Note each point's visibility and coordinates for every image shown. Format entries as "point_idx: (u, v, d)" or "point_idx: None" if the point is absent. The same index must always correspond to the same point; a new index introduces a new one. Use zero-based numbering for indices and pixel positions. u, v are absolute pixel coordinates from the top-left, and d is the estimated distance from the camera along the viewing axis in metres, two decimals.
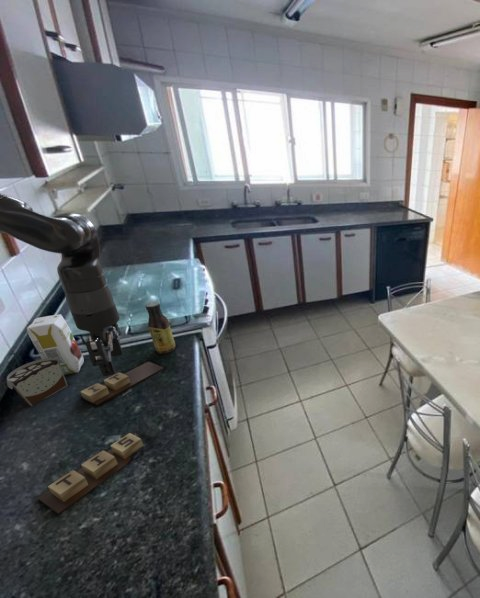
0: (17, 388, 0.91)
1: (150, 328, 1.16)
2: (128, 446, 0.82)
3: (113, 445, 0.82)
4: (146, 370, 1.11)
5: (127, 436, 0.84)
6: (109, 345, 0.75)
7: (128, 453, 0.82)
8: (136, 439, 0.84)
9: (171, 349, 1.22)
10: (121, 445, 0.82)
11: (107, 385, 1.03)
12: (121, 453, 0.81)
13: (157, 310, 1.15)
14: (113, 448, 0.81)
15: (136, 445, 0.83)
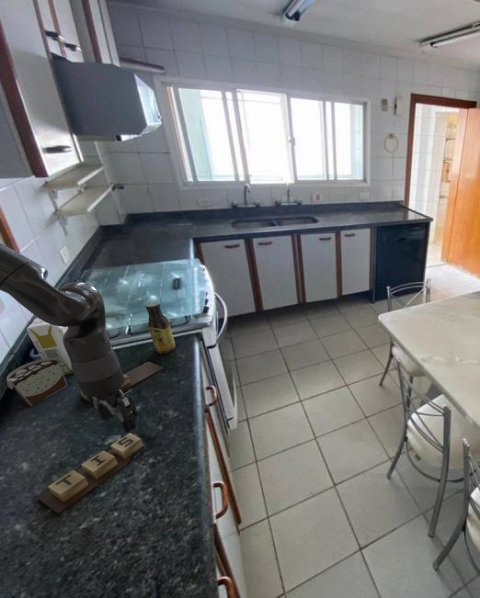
0: (17, 388, 0.91)
1: (150, 328, 1.16)
2: (128, 446, 0.82)
3: (113, 445, 0.82)
4: (146, 370, 1.11)
5: (127, 436, 0.84)
6: None
7: (128, 453, 0.82)
8: (136, 439, 0.84)
9: (171, 349, 1.22)
10: (121, 445, 0.82)
11: None
12: (121, 453, 0.81)
13: (157, 310, 1.15)
14: (113, 448, 0.81)
15: (136, 445, 0.83)
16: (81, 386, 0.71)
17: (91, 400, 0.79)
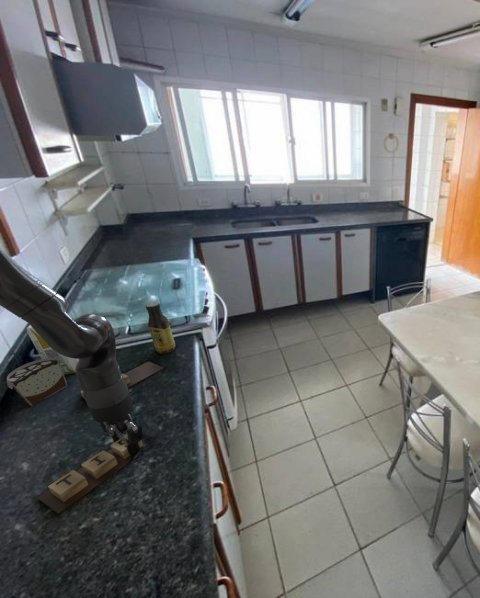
0: (17, 388, 0.91)
1: (150, 328, 1.16)
2: None
3: (113, 445, 0.82)
4: (146, 370, 1.11)
5: (127, 436, 0.84)
6: None
7: (128, 453, 0.82)
8: None
9: (171, 349, 1.22)
10: (121, 445, 0.82)
11: None
12: (121, 453, 0.81)
13: (157, 310, 1.15)
14: (113, 448, 0.81)
15: None
16: (92, 412, 0.74)
17: (106, 428, 0.82)
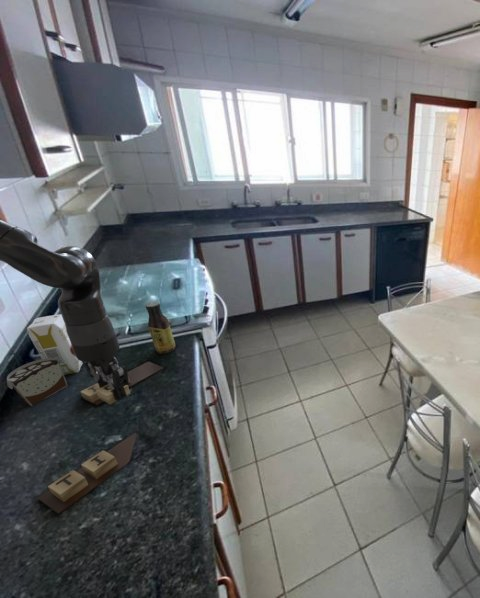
0: (17, 388, 0.91)
1: (150, 328, 1.16)
2: None
3: (98, 390, 0.79)
4: (146, 370, 1.11)
5: None
6: None
7: (114, 399, 0.79)
8: None
9: (171, 349, 1.22)
10: (107, 390, 0.79)
11: None
12: (106, 398, 0.78)
13: (157, 310, 1.15)
14: (98, 393, 0.79)
15: None
16: (76, 351, 0.72)
17: None
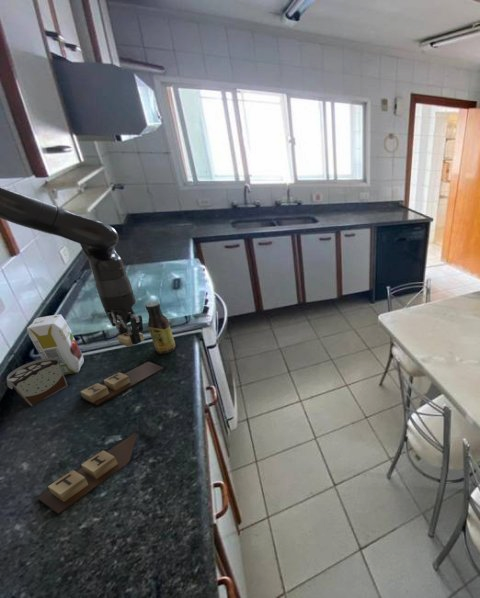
0: (17, 388, 0.91)
1: (150, 328, 1.16)
2: None
3: (119, 336, 1.00)
4: (146, 370, 1.11)
5: None
6: None
7: (131, 343, 1.00)
8: None
9: (171, 349, 1.22)
10: (126, 336, 1.00)
11: (107, 385, 1.03)
12: (126, 341, 0.98)
13: (157, 310, 1.15)
14: (119, 338, 0.99)
15: None
16: (103, 301, 0.92)
17: (114, 322, 1.00)
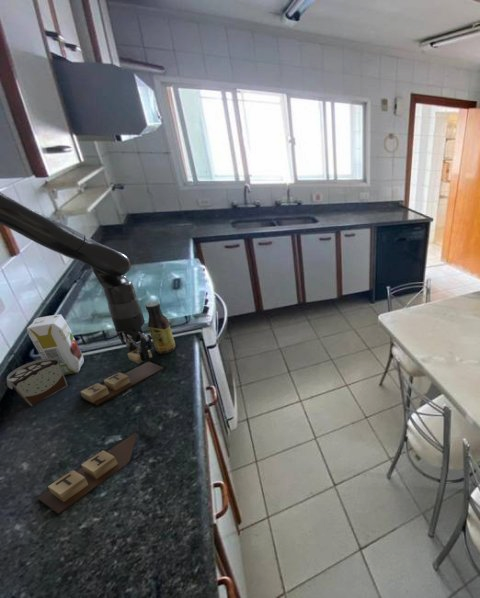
0: (17, 388, 0.91)
1: (150, 328, 1.16)
2: None
3: (129, 353, 1.07)
4: (146, 370, 1.11)
5: None
6: None
7: None
8: None
9: (171, 349, 1.22)
10: (135, 353, 1.07)
11: (107, 385, 1.03)
12: (136, 358, 1.06)
13: (157, 310, 1.15)
14: (129, 355, 1.07)
15: None
16: (115, 322, 1.00)
17: None
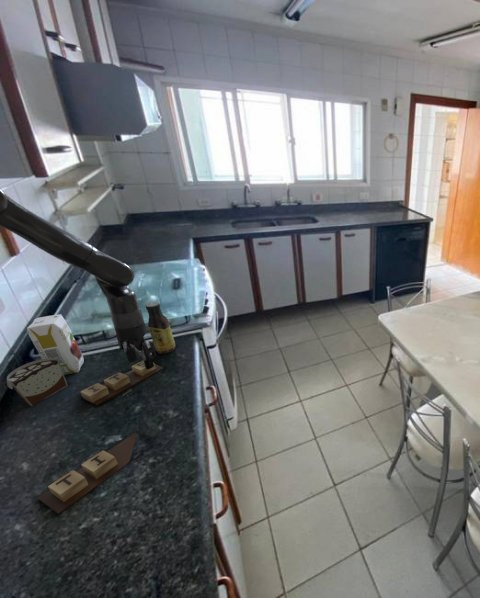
0: (17, 388, 0.91)
1: (150, 328, 1.16)
2: (144, 367, 1.09)
3: (133, 366, 1.09)
4: None
5: (143, 361, 1.12)
6: None
7: (144, 372, 1.09)
8: None
9: (171, 349, 1.22)
10: (139, 366, 1.09)
11: (107, 385, 1.03)
12: (139, 371, 1.08)
13: (157, 310, 1.15)
14: (133, 368, 1.09)
15: None
16: (117, 332, 1.01)
17: (121, 346, 1.09)
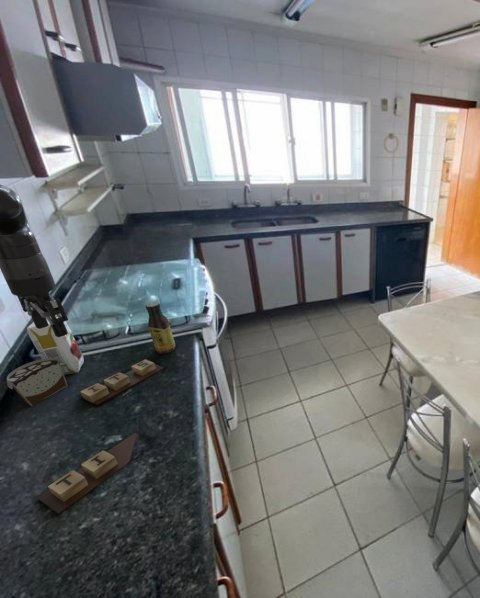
0: (17, 388, 0.91)
1: (150, 328, 1.16)
2: (144, 367, 1.09)
3: (133, 366, 1.09)
4: None
5: (143, 361, 1.12)
6: None
7: (144, 372, 1.09)
8: (150, 363, 1.11)
9: (171, 349, 1.22)
10: (139, 366, 1.09)
11: (107, 385, 1.03)
12: (139, 371, 1.08)
13: (157, 310, 1.15)
14: (133, 368, 1.09)
15: (150, 367, 1.11)
16: (9, 285, 0.76)
17: (25, 307, 0.83)
